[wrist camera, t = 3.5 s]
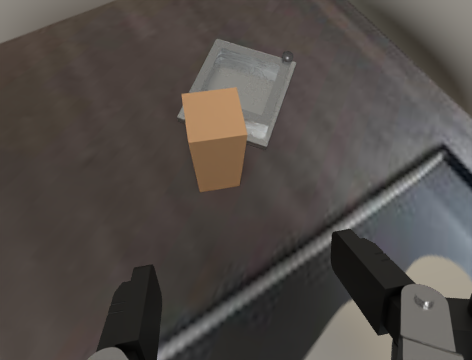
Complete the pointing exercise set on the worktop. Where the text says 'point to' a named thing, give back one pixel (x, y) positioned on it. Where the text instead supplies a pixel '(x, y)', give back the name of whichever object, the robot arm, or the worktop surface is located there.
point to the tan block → (215, 137)
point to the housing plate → (248, 85)
